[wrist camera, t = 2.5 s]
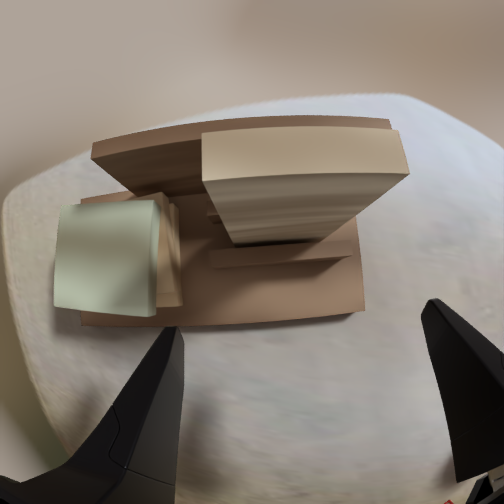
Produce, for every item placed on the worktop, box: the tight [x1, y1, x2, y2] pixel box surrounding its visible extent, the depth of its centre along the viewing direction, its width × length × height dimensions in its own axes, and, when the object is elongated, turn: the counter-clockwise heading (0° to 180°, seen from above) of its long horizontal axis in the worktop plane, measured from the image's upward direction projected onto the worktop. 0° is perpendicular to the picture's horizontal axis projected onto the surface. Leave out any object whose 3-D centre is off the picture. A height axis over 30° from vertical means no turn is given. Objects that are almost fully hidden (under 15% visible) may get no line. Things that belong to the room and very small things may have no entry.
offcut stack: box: [54, 192, 183, 317], centre depth 18 cm, size 8×8×4 cm
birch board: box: [202, 126, 410, 248], centre depth 14 cm, size 2×6×13 cm, turn 94°
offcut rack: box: [80, 115, 392, 327], centre depth 17 cm, size 10×22×10 cm, turn 94°
